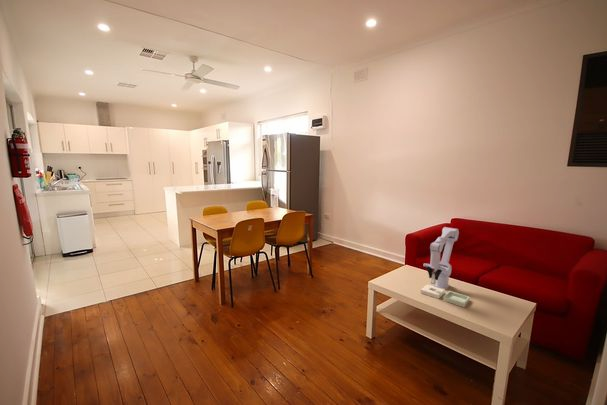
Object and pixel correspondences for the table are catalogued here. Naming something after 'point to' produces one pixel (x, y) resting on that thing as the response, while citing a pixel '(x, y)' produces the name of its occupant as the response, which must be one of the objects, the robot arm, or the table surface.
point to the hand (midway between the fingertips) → (433, 278)
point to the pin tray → (456, 298)
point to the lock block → (432, 291)
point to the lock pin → (433, 277)
